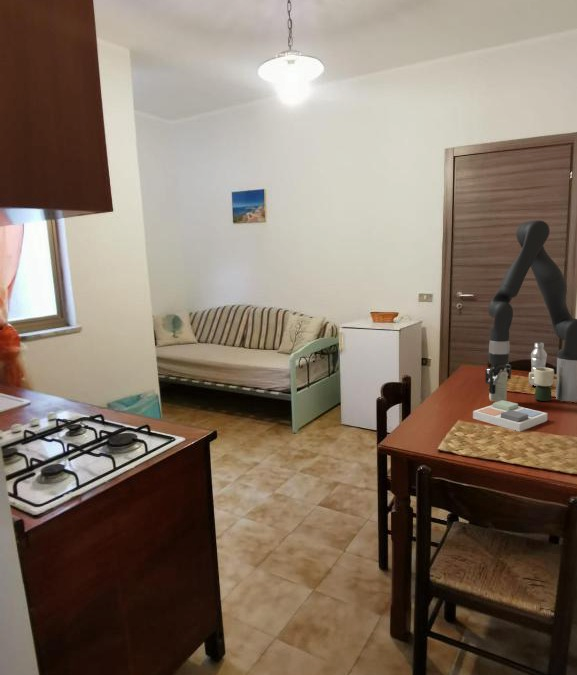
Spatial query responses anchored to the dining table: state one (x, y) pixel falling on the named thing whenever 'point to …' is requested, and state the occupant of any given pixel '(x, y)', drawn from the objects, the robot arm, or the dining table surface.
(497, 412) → the key terracotta
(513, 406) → the key sage
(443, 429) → the dining table surface
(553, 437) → the dining table surface
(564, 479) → the dining table surface
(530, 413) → the key slate
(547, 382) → the character mug
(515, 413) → the key charcoal
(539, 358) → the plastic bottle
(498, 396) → the skincare box
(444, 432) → the dining table surface
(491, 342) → the robot arm
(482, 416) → the white flat square tray
